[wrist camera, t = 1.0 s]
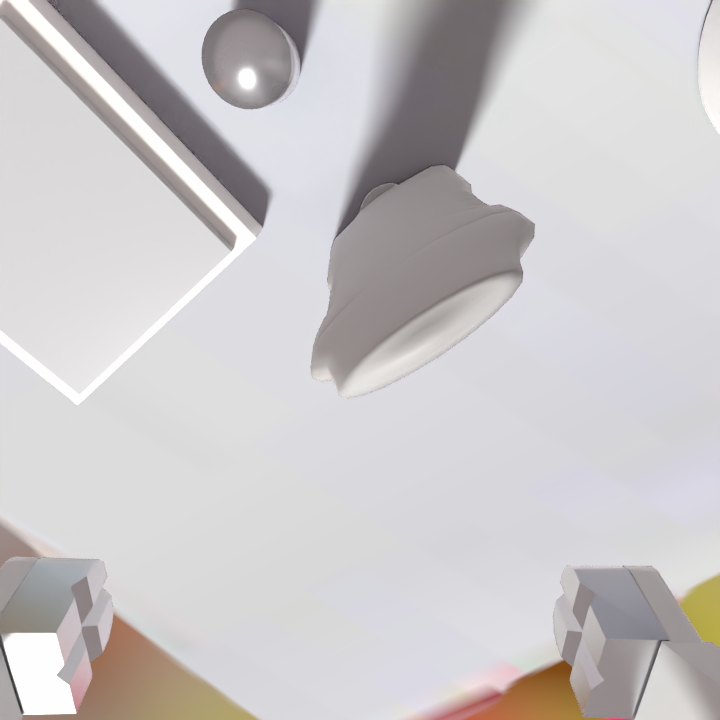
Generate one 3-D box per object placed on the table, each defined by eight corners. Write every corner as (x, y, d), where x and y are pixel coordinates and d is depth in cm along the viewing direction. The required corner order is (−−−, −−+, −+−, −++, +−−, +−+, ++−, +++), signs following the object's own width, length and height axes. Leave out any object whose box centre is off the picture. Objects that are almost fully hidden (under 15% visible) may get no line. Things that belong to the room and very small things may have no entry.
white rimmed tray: (-26, -76, 33) (-72, -96, 29) (262, 227, 40) (254, 241, 37) (-190, 150, 38) (-247, 158, 34) (94, 385, 45) (71, 412, 41)
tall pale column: (439, 137, 38) (535, 196, 18) (473, 190, 39) (598, 298, 20) (309, 237, 41) (267, 384, 21) (345, 283, 42) (340, 464, 22)
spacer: (262, 2, 35) (245, -14, 29) (316, 68, 36) (310, 65, 31) (208, 60, 36) (183, 56, 31) (262, 121, 38) (247, 128, 32)
